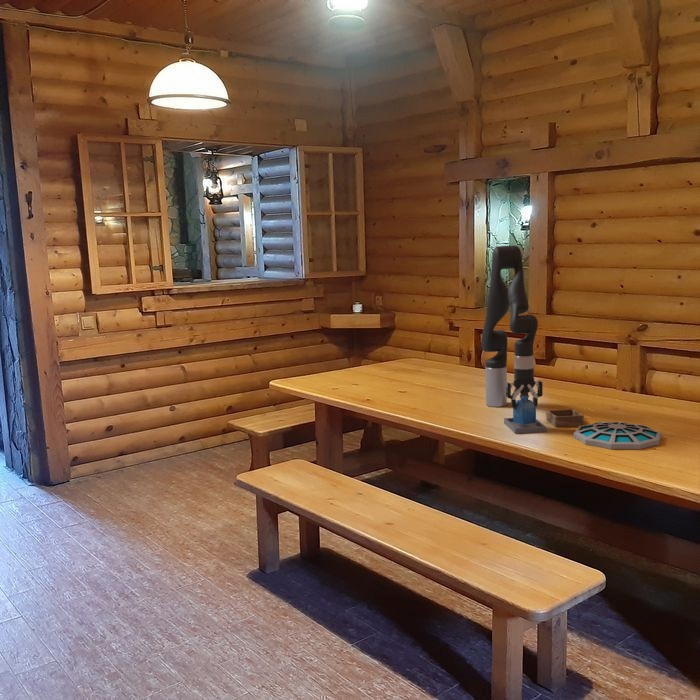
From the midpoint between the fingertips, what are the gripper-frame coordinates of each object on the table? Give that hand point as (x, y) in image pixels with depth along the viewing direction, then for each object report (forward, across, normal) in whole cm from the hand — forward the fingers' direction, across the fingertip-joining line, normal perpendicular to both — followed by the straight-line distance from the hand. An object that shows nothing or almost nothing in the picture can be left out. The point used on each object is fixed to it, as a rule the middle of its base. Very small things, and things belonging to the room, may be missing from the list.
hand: (524, 407), depth 284 cm
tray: (+8, 0, 0) cm, 8 cm away
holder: (+8, -17, -3) cm, 19 cm away
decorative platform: (+8, -28, +21) cm, 36 cm away
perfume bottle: (+6, 0, 0) cm, 6 cm away
